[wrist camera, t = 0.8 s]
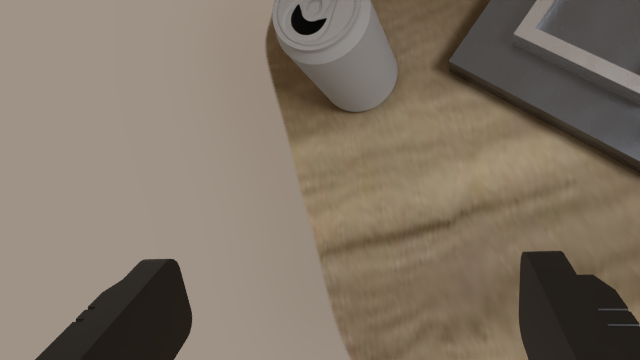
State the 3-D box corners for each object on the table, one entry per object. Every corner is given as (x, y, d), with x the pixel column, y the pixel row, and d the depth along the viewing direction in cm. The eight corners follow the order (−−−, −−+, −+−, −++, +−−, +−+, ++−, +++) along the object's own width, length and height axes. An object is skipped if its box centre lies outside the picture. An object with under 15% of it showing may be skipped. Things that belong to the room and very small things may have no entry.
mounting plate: (570, -103, 36) (579, -140, 32) (804, -23, 30) (845, -58, 27) (450, 71, 37) (447, 52, 33) (655, 180, 31) (676, 171, 28)
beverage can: (312, 93, 40) (247, 29, 29) (352, 30, 40) (302, -58, 29) (371, 128, 38) (326, 73, 27) (414, 62, 38) (386, -21, 27)
